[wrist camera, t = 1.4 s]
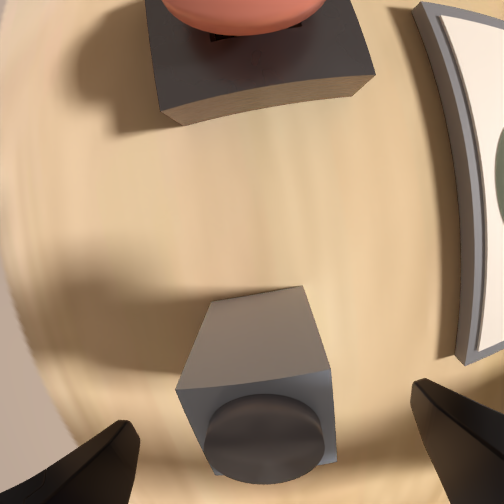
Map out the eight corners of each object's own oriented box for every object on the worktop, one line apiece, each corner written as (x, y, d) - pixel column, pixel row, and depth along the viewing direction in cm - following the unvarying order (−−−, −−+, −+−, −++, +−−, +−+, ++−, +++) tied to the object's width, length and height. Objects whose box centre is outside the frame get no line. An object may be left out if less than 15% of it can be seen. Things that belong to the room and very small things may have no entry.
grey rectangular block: (302, 285, 13) (336, 388, 6) (313, 362, 14) (340, 479, 7) (211, 301, 13) (167, 408, 7) (231, 375, 14) (212, 493, 7)
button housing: (310, -29, 10) (318, -66, 7) (351, 96, 11) (375, 74, 8) (162, -3, 10) (141, -35, 7) (183, 126, 12) (160, 111, 9)
